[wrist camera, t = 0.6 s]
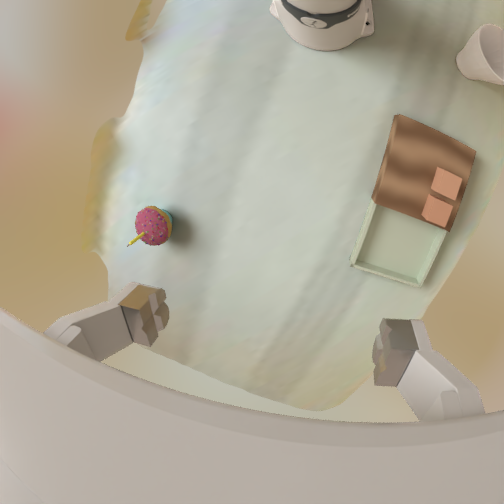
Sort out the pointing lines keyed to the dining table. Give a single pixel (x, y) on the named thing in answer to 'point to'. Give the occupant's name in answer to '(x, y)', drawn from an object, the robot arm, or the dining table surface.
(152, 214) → the cupcake
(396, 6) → the dining table surface
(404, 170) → the board
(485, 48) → the cup
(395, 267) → the tray
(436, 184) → the tile
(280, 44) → the dining table surface
